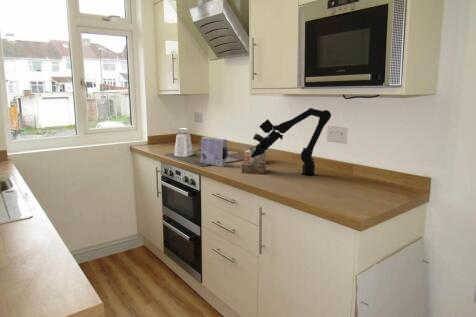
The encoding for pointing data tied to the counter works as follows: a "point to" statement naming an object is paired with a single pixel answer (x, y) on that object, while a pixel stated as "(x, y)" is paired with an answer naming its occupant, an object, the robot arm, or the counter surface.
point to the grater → (183, 144)
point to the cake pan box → (214, 151)
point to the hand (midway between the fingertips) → (252, 156)
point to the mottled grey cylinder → (255, 159)
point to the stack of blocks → (261, 157)
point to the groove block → (253, 167)
